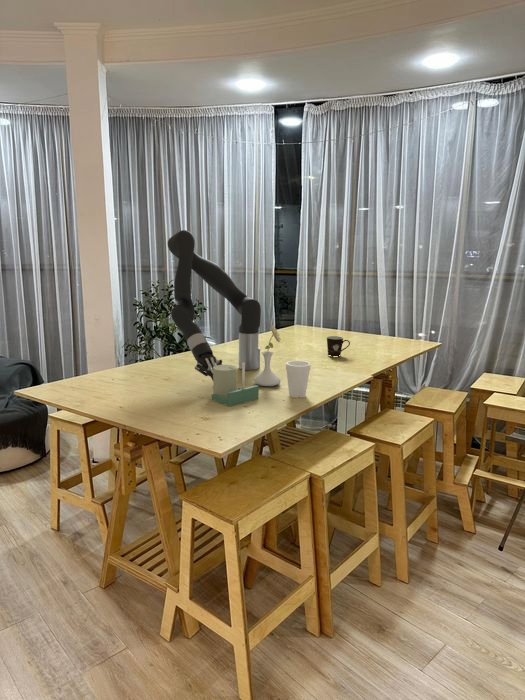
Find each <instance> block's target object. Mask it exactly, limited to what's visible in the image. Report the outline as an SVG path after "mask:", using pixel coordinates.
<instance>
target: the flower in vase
mask: <svg viewBox="0 0 525 700" xmlns="http://www.w3.org/2000/svg"><path fill="white" fill-rule="evenodd" d="M270 331H271V333H272V335H271V337H270V339H269V341H268V345H265V347H264V349H265V350H266V351H262V352H261V354H262V355H263V360H264V368H263V370H262V371H261V372H260V373H258V374H257V375H256V376H255V377H254V379H253V382H254V384H255V385H257V386H262V387H274V386H277V385H279V384H280V383H281V378H280V377H279V376H278V375H277V374H275V372H274V371H272V370H271V359H272V356H273V355H274V351H269V350H270V349H273V348H274V344H273V343H272V342H271V341H272V338H273V337H274V339H275V340H276V342H278V343H281V340H282V339H281V338H280V334H279V333H278V330H277V328H275V326H274V325H270Z"/></svg>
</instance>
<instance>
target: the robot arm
mask: <svg viewBox="0 0 525 700" xmlns="http://www.w3.org/2000/svg"><path fill="white" fill-rule="evenodd" d="M195 240H196V239H195V237H194V235H193V233H191V231H188V230H185V229H184V230H183V229H182V230H180V231H178V232H176V233H175V234H173V235H172V236H171V237H170V238H168V240H167V247H168V250H169V251H170V253H171V254H172V255H173V256H174V257H175V258H177V259H178V264H177V268H176V272H175V277H174V280H173V284H174V285H173V292H174V293H173V296H174V297H173V298H174V300H175V301H176V302H177V303H178V305H175V306H174V307H173V308H172V309H171V312H170V314H171V315H170V316H171V319H172V321H173V323H174V324H175V325H176V326H177V328H178V329H179V331H180V332H181V333H182V334H183V336H184V339H185V340H186V343H187V345H188V348H189V350H190V352H191V353H192V355H193V358H194V360H195V361H196V365H195V366H194V369H195V370H196V371H198V372H199V373H200V374H201V375H204V376H205V377H210V378H211V380H212V381H213V367H214V366H217V365H223V360H222V359H217V357H216V356H215V355H214V354H213V350H212V348H211V346H210V344H209V342H208V340H207V338H206V337H205V336H204V334H203V333H202V331H201V328H200V326H199V325H198V324H197V323H195V322H194V321H195V320H194V319H195V315H196V311H195V307H194V303H193V299H192V271H193V272H195V273H196V274H197V275H198V276H199V277H200V278H201V279H202V280H203V281H204V282H205V283H206V284H207V285H208V286H209V287H211V288H212V289H213V290H214V291H215V292H217V293H218V294H219V295H220V296H222V298H225V299H226V300H227V301H228V302H229V303H230V304H231V305H232V307H234V309H235V310H236V312H237V313H239V315H241V323H240V325H239V326H238V369H240V370H242V363H245V371H253V370H257V369H260V368H261V348H260V347H259V339H260V338H259V333H260V332H259V331H260V330H259V329H260V327H261V316H262V315H261V314H262V310H261V309H262V308H261V304H260V302H259V301H258V300H257V299H255V298H252V297H250V296H248V295H246V294H245V293H244V292H243V291H241V289H240V288H238V287H237V286H236V284H235V283H234V281H233V279H232V278H231V276H230V275H229V274H228V273H227V272H226V271H225V270H224V269H223V268H222V267H221V266H219V265H218V263H216V262H213V261H212V260H209V259H206V258H205V257H203V256H200V255H199V254H197V252H195V245H196V243H195V242H196V241H195Z"/></svg>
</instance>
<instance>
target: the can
mask: <svg viewBox="0 0 525 700" xmlns="http://www.w3.org/2000/svg"><path fill="white" fill-rule="evenodd" d="M237 369H238V368H237V366H235V365H233V364H222V365H216V366H214V367H213V380H212V382H213V384H212V385H213V386H212V387H213V388H212V393H213V394H216V395H218V396H221V397H224V398H226V399H227V393H228V392H232V391H236V390H237Z"/></svg>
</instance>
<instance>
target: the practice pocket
mask: <svg viewBox="0 0 525 700" xmlns="http://www.w3.org/2000/svg"><path fill="white" fill-rule="evenodd" d="M241 373H242V374H241V386H240V387H237V389H236V391H232V392H228V393H227V399H226V398H224V397H221V396H218V395H216V394H211V399H212V401H214V402H217V403H219V404H222V405H225V406H227V407H233V406H236V405H240V404H243V403H246V402H251V401H253V400H254V401H255V400H257V399H259V396H260V395H259V392H260V389H259V388H260V387H259V386H260V385H258V384H255V385H252V386H248V387H245V385H246V384H245V383H246V370H245V363H242V369H241Z"/></svg>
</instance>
